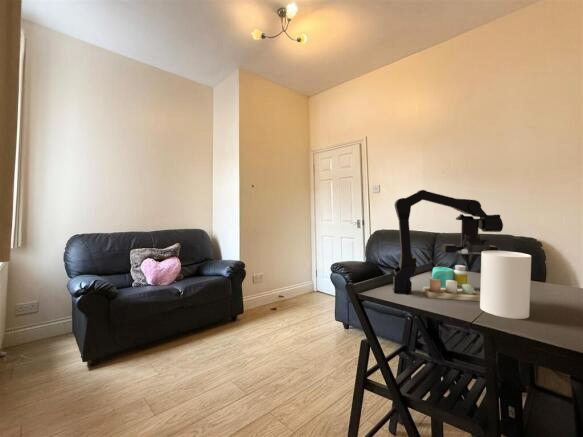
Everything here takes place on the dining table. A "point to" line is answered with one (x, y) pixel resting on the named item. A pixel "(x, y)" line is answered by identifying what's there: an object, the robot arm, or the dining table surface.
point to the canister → (505, 283)
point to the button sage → (467, 289)
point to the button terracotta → (435, 285)
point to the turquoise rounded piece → (442, 275)
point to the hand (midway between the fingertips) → (468, 270)
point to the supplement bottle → (460, 275)
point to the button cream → (451, 286)
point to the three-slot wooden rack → (451, 294)
